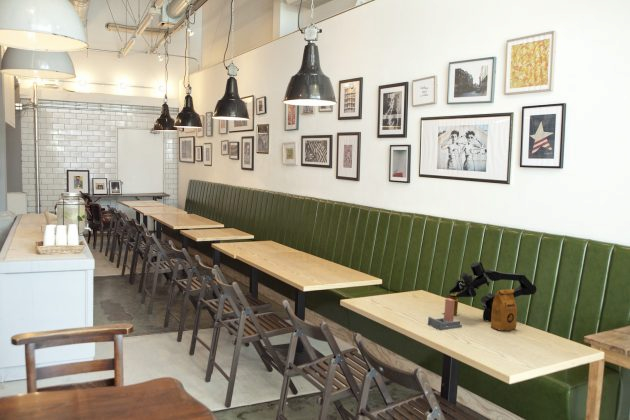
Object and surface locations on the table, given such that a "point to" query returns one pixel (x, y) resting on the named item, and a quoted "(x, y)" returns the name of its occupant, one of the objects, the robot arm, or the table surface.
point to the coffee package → (504, 311)
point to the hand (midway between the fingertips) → (452, 294)
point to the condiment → (453, 296)
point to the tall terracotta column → (449, 310)
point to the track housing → (443, 324)
